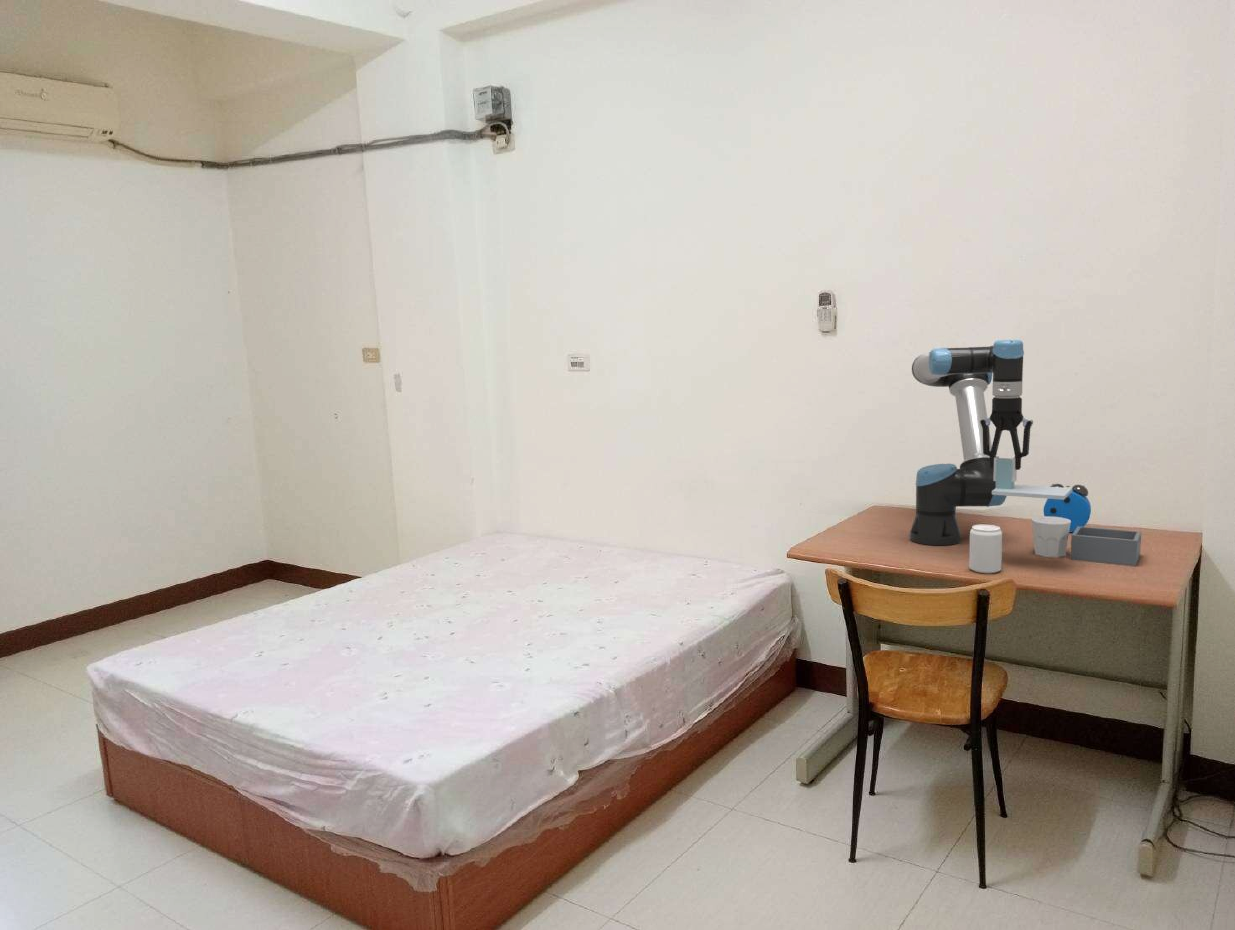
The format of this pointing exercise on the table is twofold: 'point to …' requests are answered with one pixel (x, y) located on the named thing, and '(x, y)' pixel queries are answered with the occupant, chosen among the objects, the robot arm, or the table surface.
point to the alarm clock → (1070, 507)
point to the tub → (1106, 545)
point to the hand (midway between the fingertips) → (1004, 480)
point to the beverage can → (985, 548)
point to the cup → (1050, 536)
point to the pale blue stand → (1009, 489)
